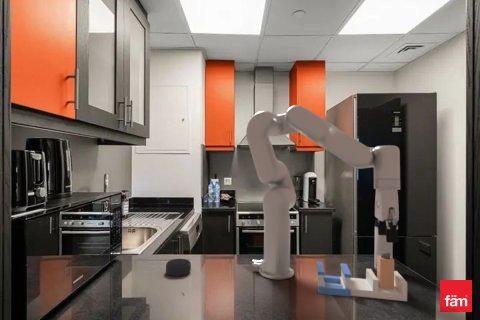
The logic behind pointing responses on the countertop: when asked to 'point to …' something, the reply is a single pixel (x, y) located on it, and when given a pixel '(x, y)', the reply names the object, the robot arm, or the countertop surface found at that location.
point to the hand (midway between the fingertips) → (387, 238)
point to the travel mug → (381, 244)
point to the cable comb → (359, 285)
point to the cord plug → (385, 270)
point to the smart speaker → (178, 267)
